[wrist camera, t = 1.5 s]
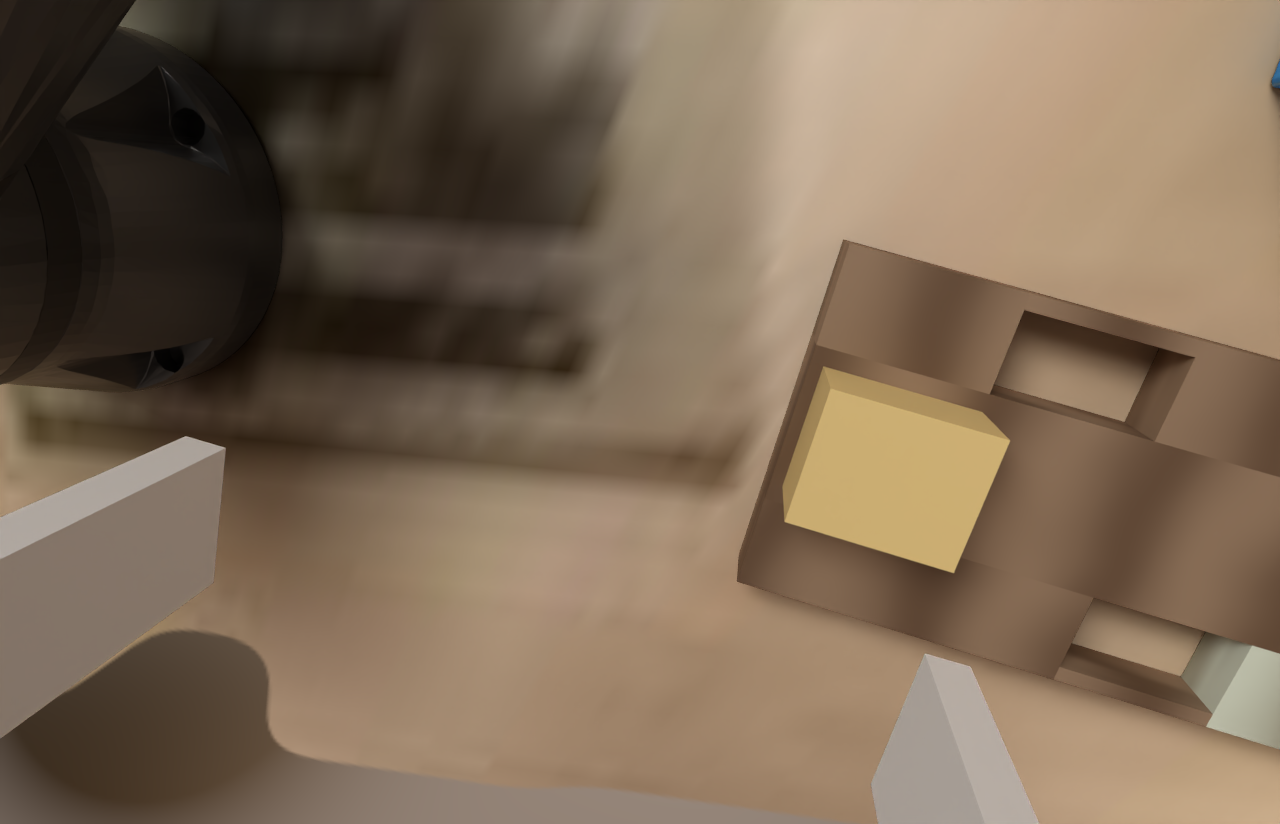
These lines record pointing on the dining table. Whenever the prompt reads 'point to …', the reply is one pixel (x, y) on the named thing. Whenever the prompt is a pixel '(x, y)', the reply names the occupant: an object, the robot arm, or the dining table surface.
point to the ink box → (1276, 77)
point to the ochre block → (891, 469)
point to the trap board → (1058, 498)
